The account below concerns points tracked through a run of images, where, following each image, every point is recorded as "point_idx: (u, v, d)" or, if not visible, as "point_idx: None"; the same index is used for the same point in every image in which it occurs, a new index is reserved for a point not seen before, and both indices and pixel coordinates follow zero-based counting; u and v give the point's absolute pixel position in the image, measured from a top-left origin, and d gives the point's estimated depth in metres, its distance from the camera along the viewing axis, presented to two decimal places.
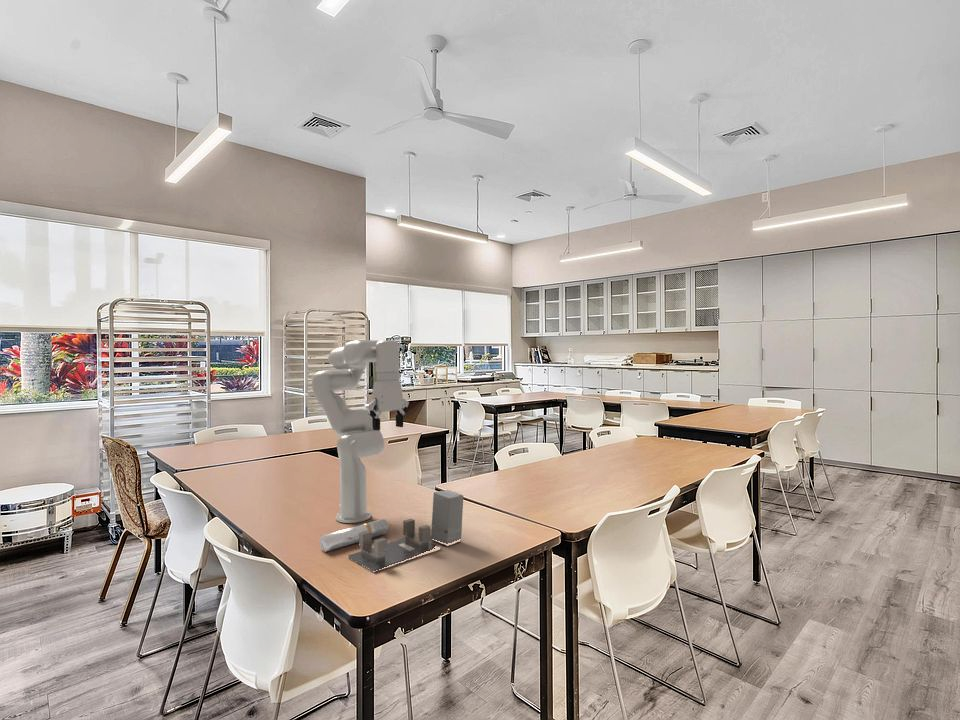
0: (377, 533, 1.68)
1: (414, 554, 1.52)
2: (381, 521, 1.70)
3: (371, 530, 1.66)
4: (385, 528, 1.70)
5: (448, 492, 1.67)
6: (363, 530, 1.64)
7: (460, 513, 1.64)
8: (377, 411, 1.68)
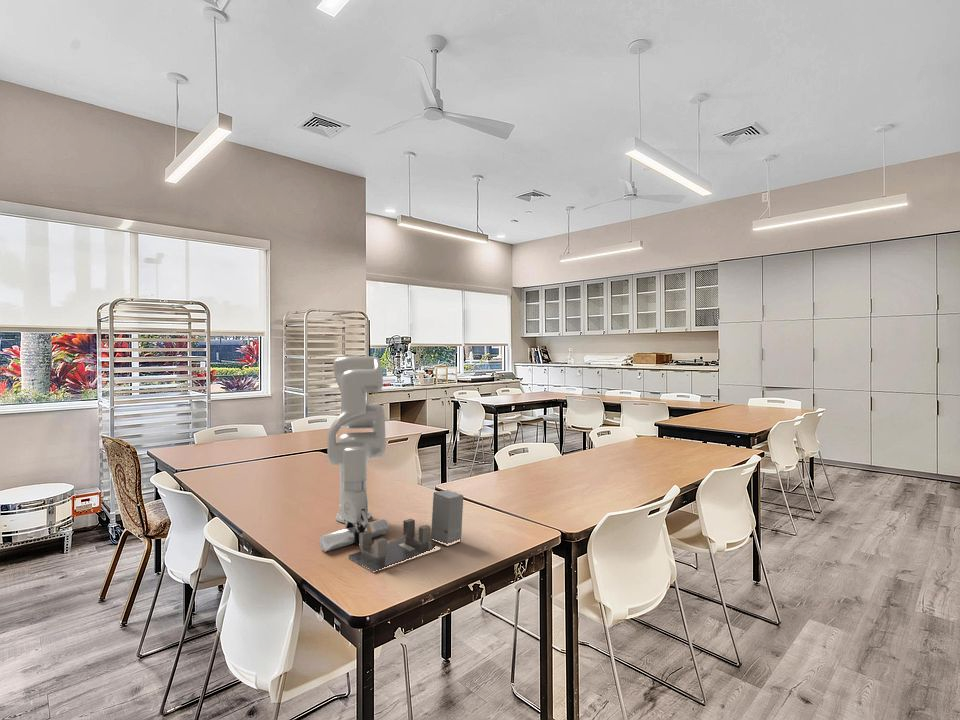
0: (377, 532, 1.68)
1: (414, 554, 1.52)
2: (381, 521, 1.70)
3: (371, 530, 1.66)
4: (385, 528, 1.70)
5: (448, 492, 1.67)
6: None
7: (460, 513, 1.64)
8: (358, 523, 1.62)
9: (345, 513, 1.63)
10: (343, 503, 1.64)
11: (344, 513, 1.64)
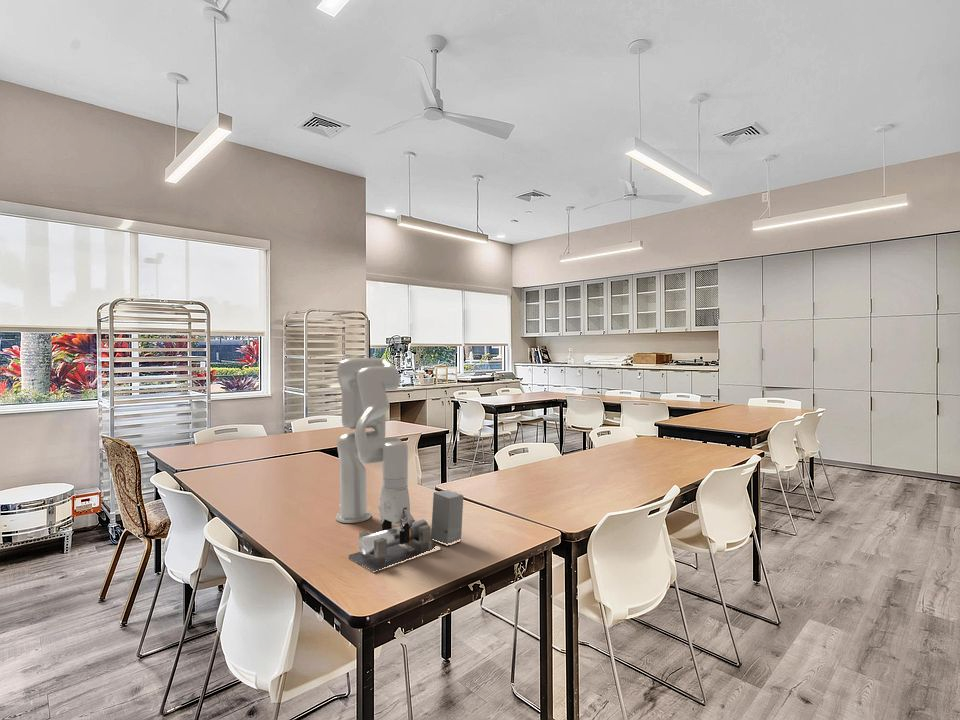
0: (418, 534, 1.58)
1: (414, 554, 1.52)
2: (421, 522, 1.61)
3: (412, 531, 1.56)
4: None
5: (448, 492, 1.67)
6: None
7: (460, 513, 1.64)
8: (402, 522, 1.52)
9: (385, 512, 1.54)
10: (383, 501, 1.55)
11: (384, 512, 1.54)
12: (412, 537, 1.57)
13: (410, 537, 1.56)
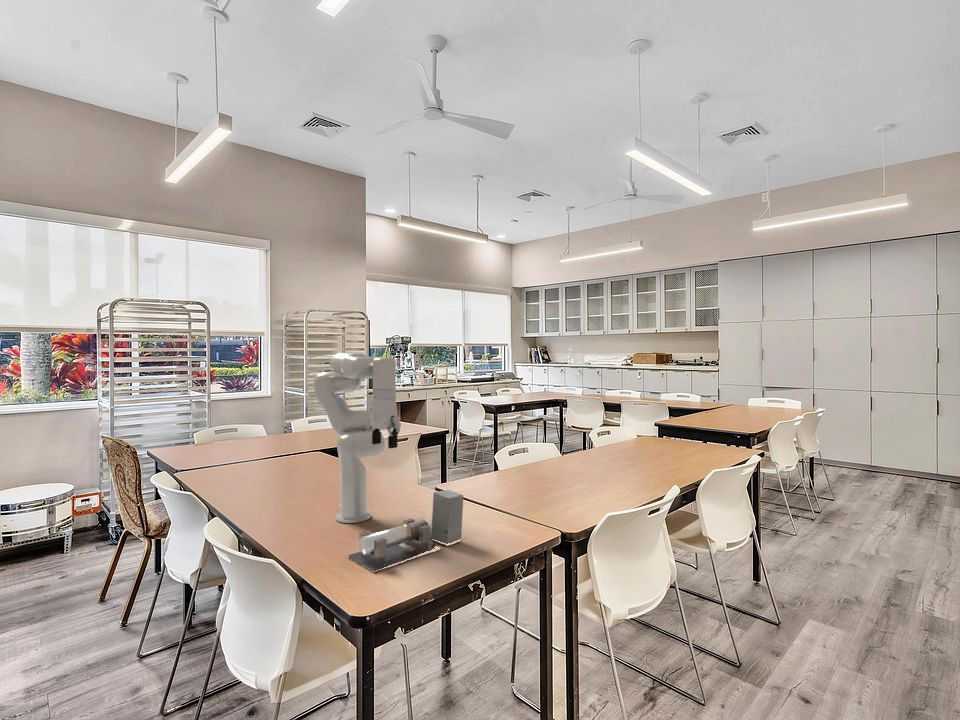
0: (418, 534, 1.58)
1: (414, 554, 1.52)
2: (422, 522, 1.61)
3: (412, 532, 1.56)
4: None
5: (448, 492, 1.67)
6: (404, 532, 1.55)
7: (460, 513, 1.64)
8: (390, 429, 1.66)
9: (375, 421, 1.68)
10: (373, 412, 1.69)
11: (374, 421, 1.69)
12: (412, 537, 1.57)
13: (410, 537, 1.56)
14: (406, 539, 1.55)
